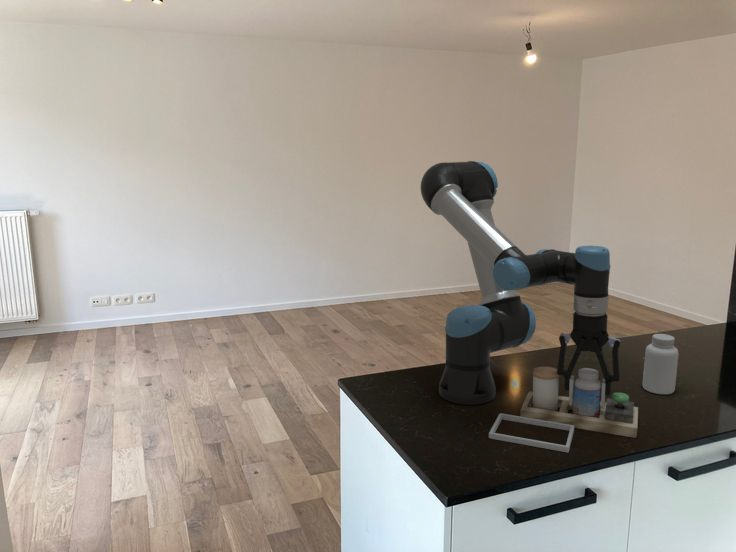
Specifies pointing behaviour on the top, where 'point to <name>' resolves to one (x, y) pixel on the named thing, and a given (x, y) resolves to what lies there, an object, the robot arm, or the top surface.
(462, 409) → the top surface
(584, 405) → the pill bottle
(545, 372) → the white canister
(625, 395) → the button
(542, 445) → the white rectangular frame
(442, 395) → the robot arm
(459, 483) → the top surface
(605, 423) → the wooden divided rack
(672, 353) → the pill bottle
